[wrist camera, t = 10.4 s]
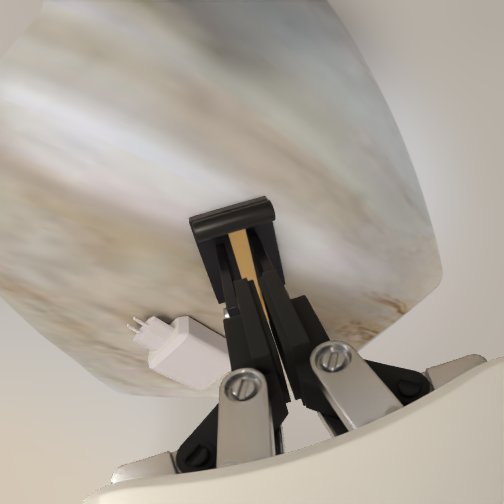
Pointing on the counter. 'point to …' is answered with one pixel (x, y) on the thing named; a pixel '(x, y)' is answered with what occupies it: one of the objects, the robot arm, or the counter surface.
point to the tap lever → (237, 234)
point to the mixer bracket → (224, 262)
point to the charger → (184, 351)
